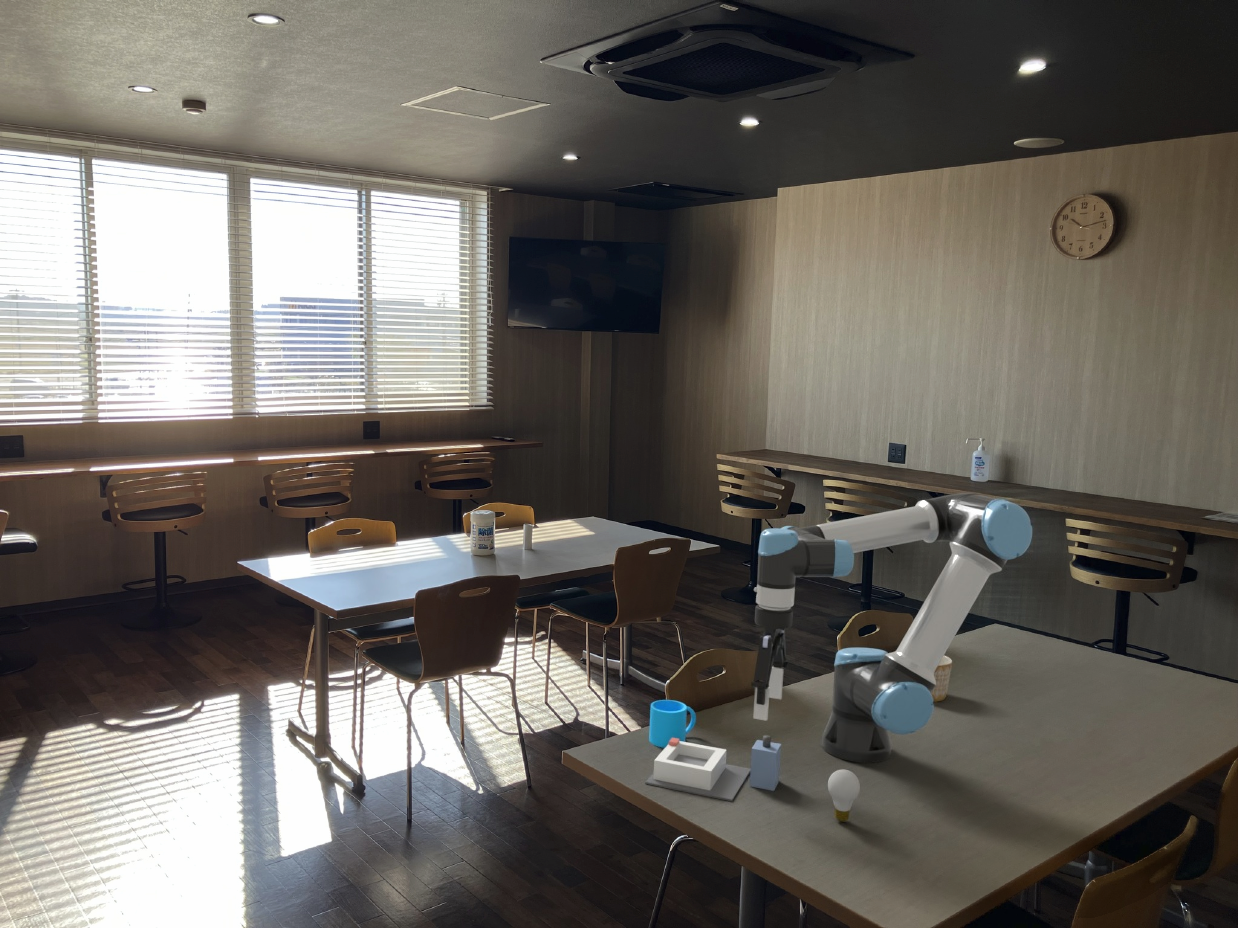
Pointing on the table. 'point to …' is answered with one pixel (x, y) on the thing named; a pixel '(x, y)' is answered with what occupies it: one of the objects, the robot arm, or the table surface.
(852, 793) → the light bulb
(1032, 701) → the table surface
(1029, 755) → the table surface
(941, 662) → the planter
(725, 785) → the socket
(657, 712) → the mug
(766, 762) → the plug
